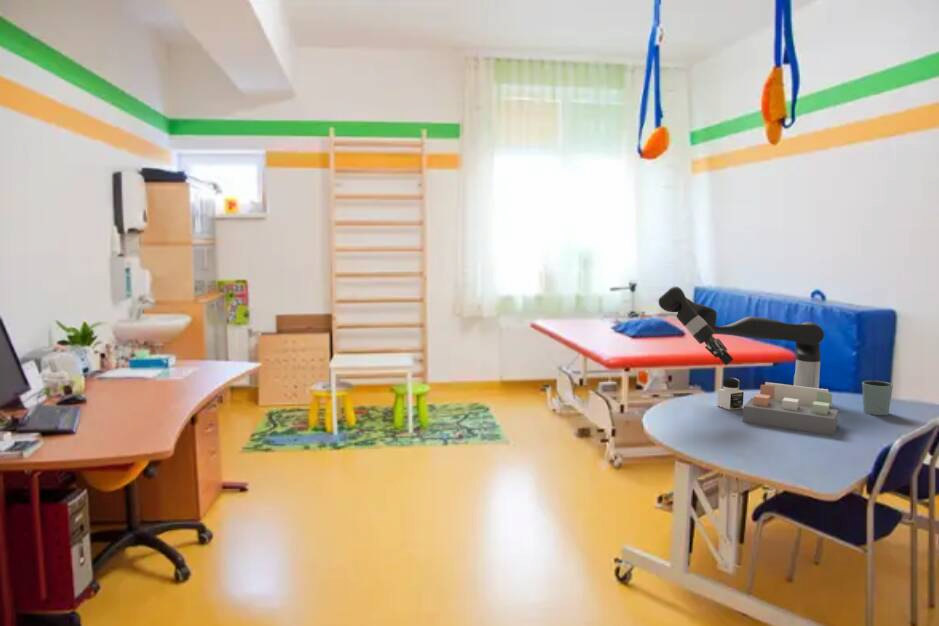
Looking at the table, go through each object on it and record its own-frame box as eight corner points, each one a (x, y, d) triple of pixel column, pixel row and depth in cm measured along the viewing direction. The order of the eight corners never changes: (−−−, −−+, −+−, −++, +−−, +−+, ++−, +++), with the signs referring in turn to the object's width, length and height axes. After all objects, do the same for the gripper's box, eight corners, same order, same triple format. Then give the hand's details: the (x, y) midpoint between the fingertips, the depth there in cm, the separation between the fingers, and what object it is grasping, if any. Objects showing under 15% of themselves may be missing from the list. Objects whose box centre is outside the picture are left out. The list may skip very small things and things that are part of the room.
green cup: (893, 417, 251) (895, 387, 249) (863, 414, 254) (865, 385, 252) (886, 410, 260) (888, 381, 258) (857, 408, 263) (859, 379, 262)
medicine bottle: (730, 410, 261) (731, 381, 260) (716, 406, 268) (718, 377, 266) (743, 408, 264) (744, 379, 263) (729, 404, 270) (731, 375, 269)
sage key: (811, 416, 236) (812, 404, 236) (813, 413, 240) (814, 401, 240) (827, 418, 233) (828, 406, 233) (828, 415, 238) (829, 403, 237)
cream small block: (781, 411, 242) (782, 400, 241) (783, 408, 246) (784, 397, 245) (796, 414, 239) (797, 402, 239) (798, 410, 243) (799, 399, 243)
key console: (742, 421, 246) (744, 390, 244) (753, 409, 261) (754, 380, 260) (832, 435, 229) (835, 402, 227) (838, 422, 245) (840, 391, 243)
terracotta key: (753, 407, 248) (753, 396, 247) (755, 405, 252) (756, 393, 251) (767, 409, 245) (767, 398, 244) (769, 406, 249) (770, 395, 248)
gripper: (697, 333, 266) (727, 365, 261) (687, 337, 254) (718, 371, 249) (711, 321, 262) (741, 353, 257) (701, 325, 251) (733, 359, 245)
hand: (729, 362), depth 253 cm, fingers open, 4 cm apart
